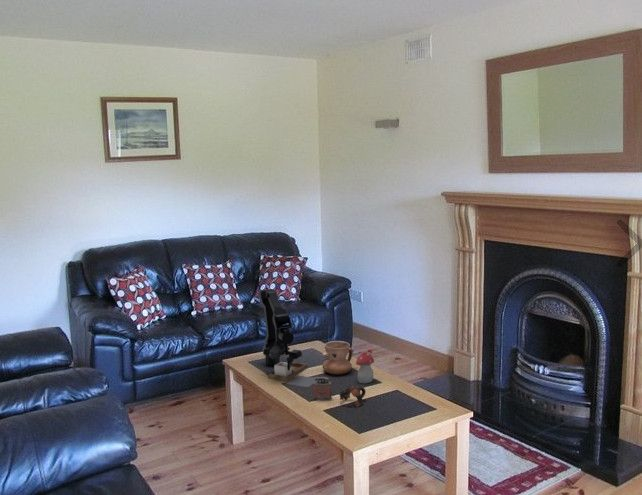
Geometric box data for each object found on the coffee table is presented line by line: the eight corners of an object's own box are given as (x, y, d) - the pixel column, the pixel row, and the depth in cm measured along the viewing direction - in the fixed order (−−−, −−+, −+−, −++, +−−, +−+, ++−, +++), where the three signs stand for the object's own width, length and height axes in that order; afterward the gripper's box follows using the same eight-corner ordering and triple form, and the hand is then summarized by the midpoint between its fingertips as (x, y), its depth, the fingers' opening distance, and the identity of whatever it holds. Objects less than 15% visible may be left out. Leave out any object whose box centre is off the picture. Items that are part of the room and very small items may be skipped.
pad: (285, 384, 283) (285, 383, 283) (298, 376, 294) (297, 375, 294) (308, 388, 278) (308, 387, 278) (319, 379, 288) (319, 378, 288)
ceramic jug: (331, 379, 288) (331, 351, 286) (314, 371, 300) (314, 343, 298) (361, 372, 298) (361, 344, 296) (344, 364, 309) (344, 337, 307)
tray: (268, 379, 291) (268, 374, 290) (289, 366, 309) (289, 361, 308) (287, 382, 286) (287, 377, 286) (307, 368, 304) (307, 364, 304)
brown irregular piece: (352, 411, 252) (343, 393, 253) (342, 413, 260) (333, 396, 261) (373, 397, 259) (364, 380, 259) (363, 399, 266) (354, 383, 267)
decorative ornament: (372, 377, 289) (371, 347, 287) (377, 382, 282) (376, 351, 280) (353, 380, 286) (353, 350, 284) (358, 385, 280) (358, 354, 278)
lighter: (332, 397, 266) (331, 375, 264) (331, 400, 262) (330, 378, 261) (314, 397, 267) (313, 375, 265) (313, 400, 263) (312, 378, 262)
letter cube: (274, 377, 292) (274, 365, 291) (281, 373, 297) (280, 361, 296) (285, 379, 289) (285, 366, 288) (291, 375, 294) (291, 363, 294)
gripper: (256, 340, 287) (257, 372, 290) (290, 345, 279) (291, 377, 281) (268, 334, 297) (269, 365, 299) (301, 338, 289) (302, 370, 291)
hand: (283, 369), depth 293 cm, fingers closed on letter cube, 6 cm apart
